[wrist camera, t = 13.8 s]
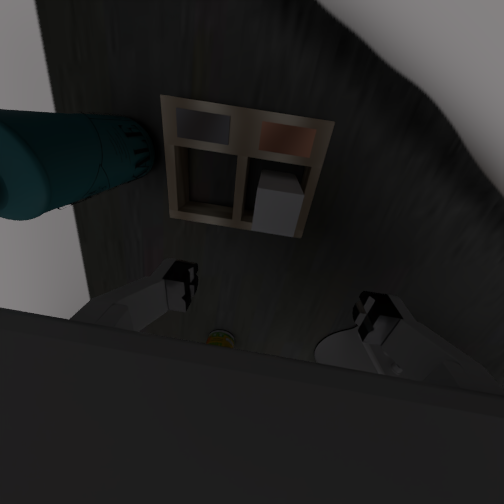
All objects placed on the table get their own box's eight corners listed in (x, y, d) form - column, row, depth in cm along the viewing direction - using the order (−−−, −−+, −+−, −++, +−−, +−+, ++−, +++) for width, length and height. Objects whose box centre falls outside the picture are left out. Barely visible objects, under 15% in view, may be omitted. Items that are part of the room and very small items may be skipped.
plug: (294, 173, 25) (304, 195, 18) (287, 205, 27) (293, 237, 20) (262, 168, 25) (257, 187, 18) (257, 200, 27) (251, 230, 20)
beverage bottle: (98, 137, 25) (-274, 165, 8) (134, 100, 23) (-282, 26, 6) (139, 185, 28) (-76, 282, 11) (175, 155, 25) (-26, 218, 8)
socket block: (325, 122, 22) (335, 121, 19) (297, 224, 29) (301, 239, 25) (177, 99, 22) (158, 94, 19) (182, 206, 29) (168, 218, 25)
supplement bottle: (225, 326, 41) (213, 377, 33) (239, 342, 43) (231, 394, 35) (203, 333, 42) (186, 383, 34) (218, 348, 45) (205, 399, 36)
